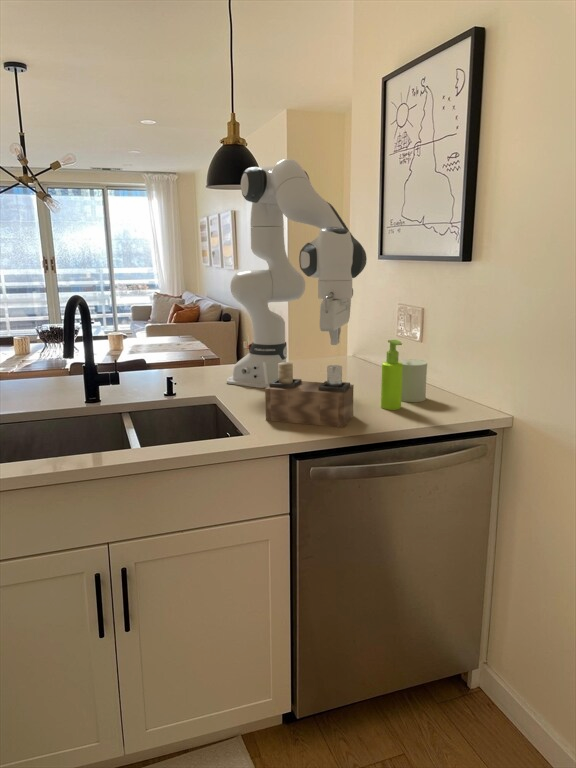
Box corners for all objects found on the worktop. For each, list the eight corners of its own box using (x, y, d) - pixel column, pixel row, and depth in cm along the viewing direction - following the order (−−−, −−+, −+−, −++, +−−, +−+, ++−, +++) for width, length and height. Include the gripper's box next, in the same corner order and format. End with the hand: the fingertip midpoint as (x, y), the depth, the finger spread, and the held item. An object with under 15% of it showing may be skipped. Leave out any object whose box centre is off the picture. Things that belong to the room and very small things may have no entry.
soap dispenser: (387, 411, 161) (390, 342, 156) (377, 405, 168) (379, 339, 163) (406, 409, 163) (408, 341, 158) (395, 403, 169) (397, 338, 165)
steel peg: (325, 396, 151) (325, 367, 149) (329, 393, 155) (329, 364, 153) (339, 397, 150) (340, 368, 148) (343, 394, 153) (343, 365, 151)
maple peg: (276, 393, 156) (276, 364, 154) (281, 389, 159) (281, 362, 157) (290, 394, 154) (289, 365, 152) (294, 390, 158) (294, 362, 156)
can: (390, 399, 174) (392, 361, 171) (402, 393, 181) (403, 356, 178) (419, 403, 169) (421, 364, 166) (430, 397, 176) (432, 359, 173)
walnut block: (265, 420, 155) (265, 384, 152) (279, 409, 165) (279, 376, 162) (343, 427, 147) (344, 390, 145) (353, 415, 158) (353, 381, 155)
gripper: (338, 294, 135) (338, 351, 138) (354, 289, 154) (354, 339, 157) (313, 294, 137) (313, 350, 140) (332, 289, 156) (332, 338, 159)
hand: (335, 344), depth 149 cm, fingers closed
